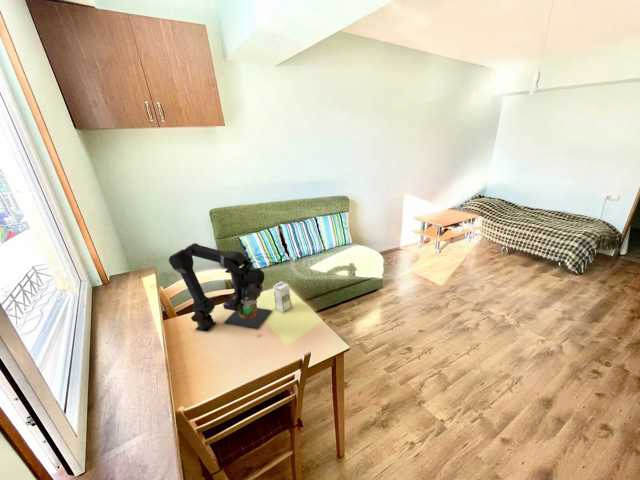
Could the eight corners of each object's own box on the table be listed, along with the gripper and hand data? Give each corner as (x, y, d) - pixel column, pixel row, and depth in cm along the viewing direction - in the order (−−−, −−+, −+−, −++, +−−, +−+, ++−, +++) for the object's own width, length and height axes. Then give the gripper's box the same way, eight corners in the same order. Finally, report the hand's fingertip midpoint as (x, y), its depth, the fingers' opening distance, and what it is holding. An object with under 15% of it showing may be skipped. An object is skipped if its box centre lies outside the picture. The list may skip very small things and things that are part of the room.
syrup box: (284, 303, 150) (280, 280, 143) (291, 307, 147) (288, 284, 140) (275, 308, 146) (272, 285, 139) (283, 312, 143) (280, 289, 136)
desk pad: (224, 323, 136) (224, 322, 135) (240, 306, 148) (240, 305, 147) (257, 329, 132) (257, 327, 131) (271, 311, 144) (271, 310, 143)
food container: (230, 316, 126) (226, 297, 122) (241, 309, 131) (237, 291, 127) (249, 324, 120) (245, 305, 116) (260, 317, 125) (256, 298, 121)
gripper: (243, 296, 108) (250, 327, 115) (268, 273, 124) (272, 301, 131) (219, 291, 110) (226, 322, 117) (245, 269, 126) (251, 298, 133)
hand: (245, 310), depth 125 cm, fingers closed on food container, 6 cm apart
